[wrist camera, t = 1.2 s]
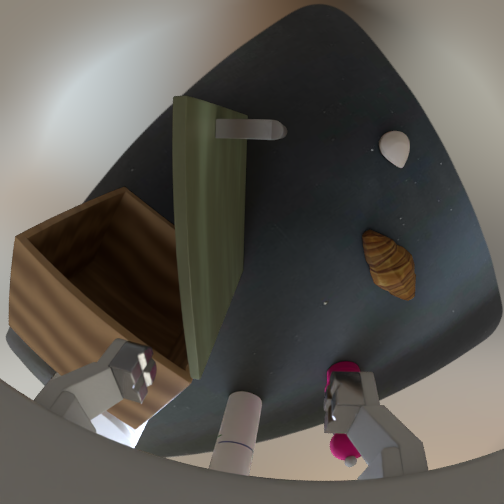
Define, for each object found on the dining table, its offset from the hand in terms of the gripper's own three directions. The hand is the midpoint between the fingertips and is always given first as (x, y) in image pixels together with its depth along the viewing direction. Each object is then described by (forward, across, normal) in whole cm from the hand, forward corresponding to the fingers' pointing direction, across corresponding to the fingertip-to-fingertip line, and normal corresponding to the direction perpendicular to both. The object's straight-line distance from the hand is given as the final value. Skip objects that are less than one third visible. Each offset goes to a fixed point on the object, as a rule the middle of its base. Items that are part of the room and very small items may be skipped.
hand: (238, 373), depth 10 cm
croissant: (+31, -16, +8) cm, 36 cm away
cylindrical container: (+31, +4, +43) cm, 53 cm away
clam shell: (+31, -14, -8) cm, 35 cm away
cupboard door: (+31, +3, +1) cm, 31 cm away
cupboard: (+31, +19, +13) cm, 39 cm away
